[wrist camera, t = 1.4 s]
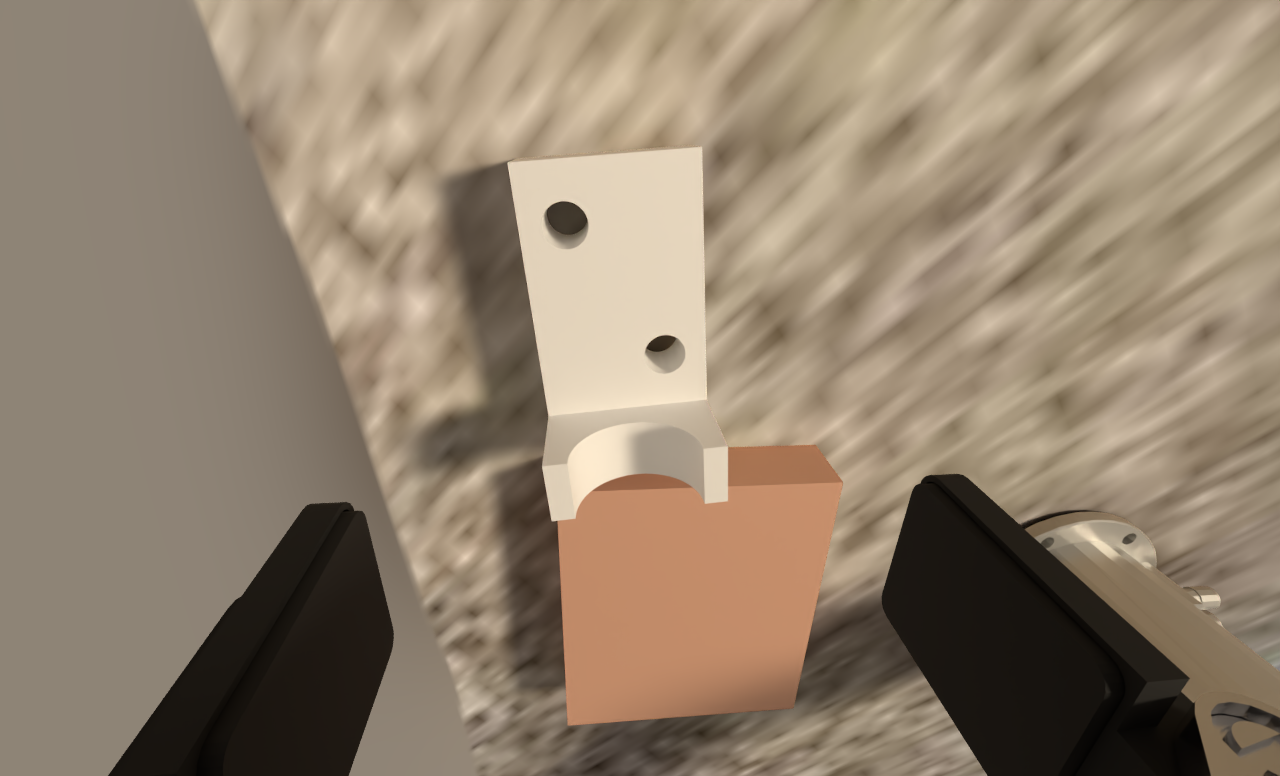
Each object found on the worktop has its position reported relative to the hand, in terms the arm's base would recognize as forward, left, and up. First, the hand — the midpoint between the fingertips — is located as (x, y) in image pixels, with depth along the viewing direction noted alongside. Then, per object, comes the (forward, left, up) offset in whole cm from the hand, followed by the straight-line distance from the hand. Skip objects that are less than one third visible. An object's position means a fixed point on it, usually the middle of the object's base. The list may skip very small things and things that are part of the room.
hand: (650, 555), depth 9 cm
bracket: (0, +1, -18) cm, 18 cm away
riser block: (-4, +17, -18) cm, 25 cm away
